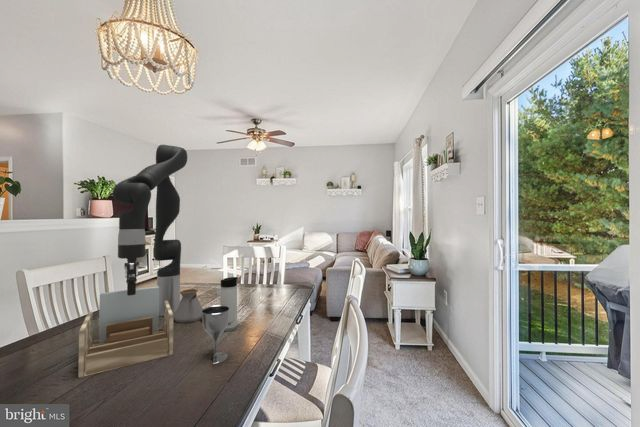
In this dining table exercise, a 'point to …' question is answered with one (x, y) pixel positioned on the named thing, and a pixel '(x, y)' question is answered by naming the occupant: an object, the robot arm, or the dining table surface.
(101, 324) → the blue-grey flat rectangular block
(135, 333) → the offcut
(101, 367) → the rack
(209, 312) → the wine glass
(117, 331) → the offcut
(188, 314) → the coffee pot
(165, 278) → the robot arm
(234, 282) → the travel mug
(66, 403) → the dining table surface
